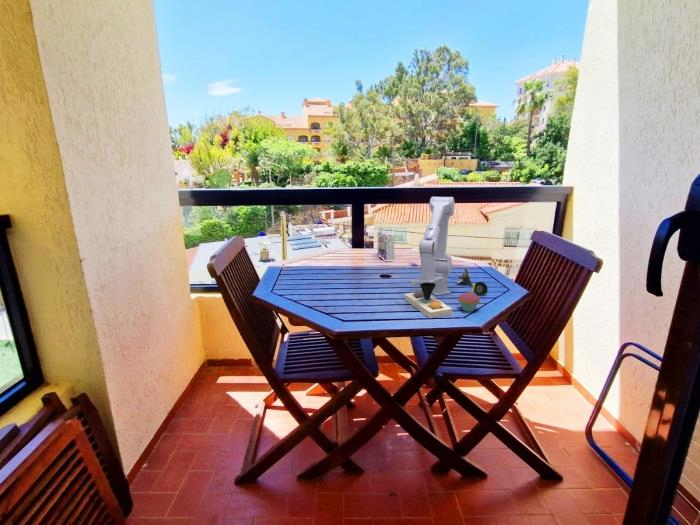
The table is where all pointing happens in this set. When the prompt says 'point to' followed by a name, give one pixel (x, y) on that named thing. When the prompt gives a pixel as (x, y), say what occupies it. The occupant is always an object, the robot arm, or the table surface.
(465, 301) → the cupcake
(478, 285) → the artificial flower
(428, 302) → the teal button
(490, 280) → the table surface
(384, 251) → the candy box
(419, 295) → the grey button
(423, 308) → the button panel
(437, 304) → the orange button
